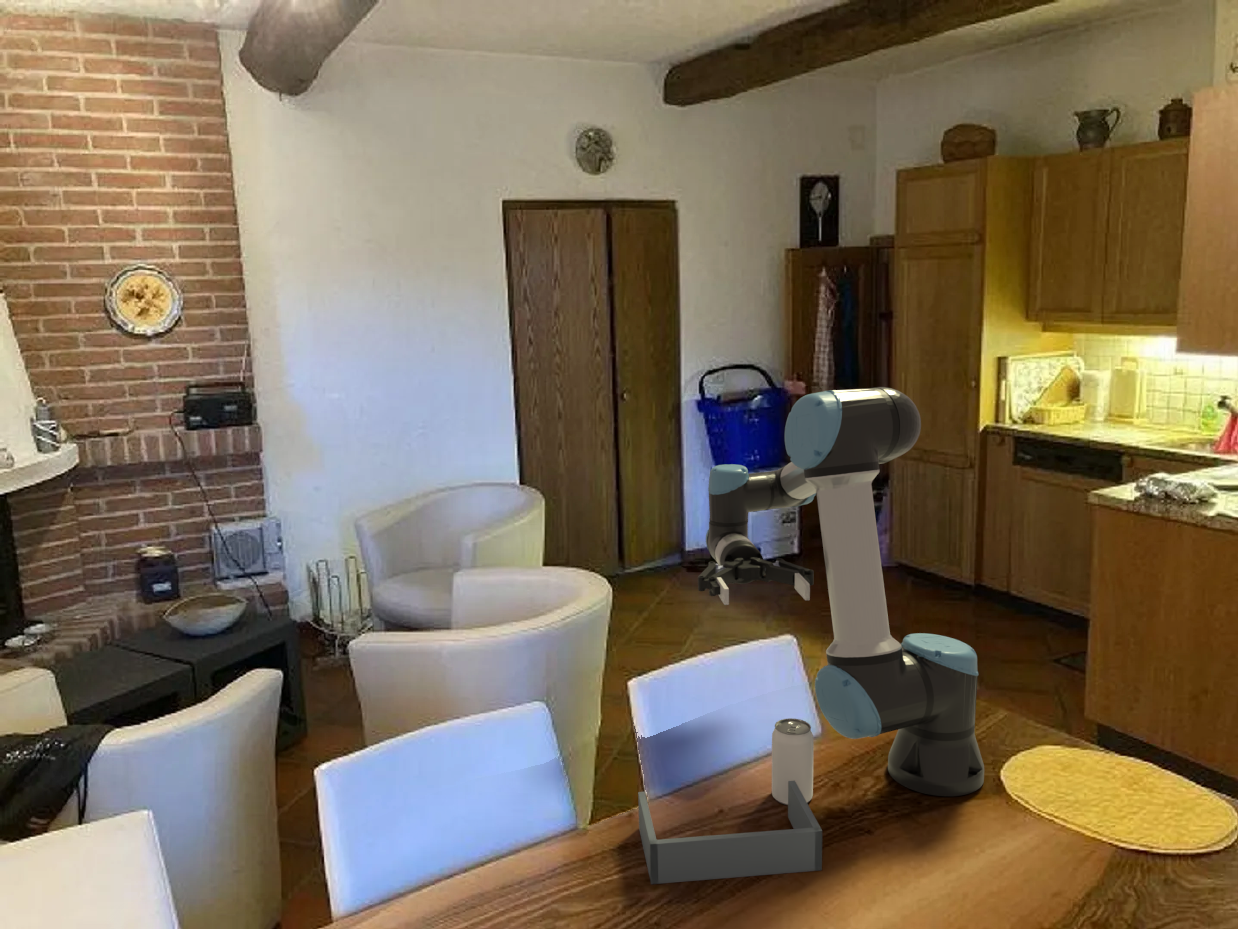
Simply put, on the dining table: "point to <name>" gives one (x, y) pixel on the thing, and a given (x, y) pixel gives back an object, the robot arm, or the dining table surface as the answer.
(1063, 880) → the dining table surface
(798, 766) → the can
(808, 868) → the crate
